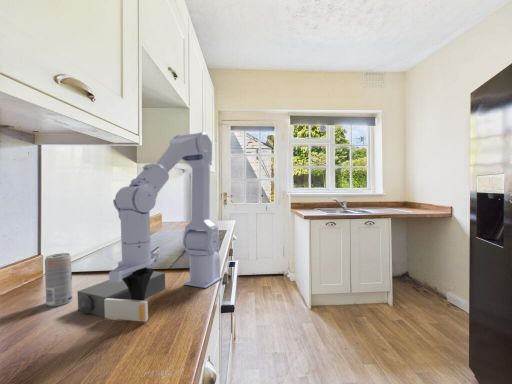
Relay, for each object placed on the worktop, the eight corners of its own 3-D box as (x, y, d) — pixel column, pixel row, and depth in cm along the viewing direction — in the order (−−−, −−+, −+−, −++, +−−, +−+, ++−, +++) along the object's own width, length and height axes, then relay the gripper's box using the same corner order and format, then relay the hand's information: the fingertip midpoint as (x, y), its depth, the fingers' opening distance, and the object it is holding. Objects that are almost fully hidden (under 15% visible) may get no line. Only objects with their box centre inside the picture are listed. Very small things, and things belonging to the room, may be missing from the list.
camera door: (148, 319, 56) (147, 300, 56) (144, 322, 55) (143, 303, 55) (107, 316, 58) (107, 298, 58) (102, 319, 57) (102, 300, 57)
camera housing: (139, 284, 79) (139, 269, 79) (165, 288, 75) (165, 273, 75) (73, 311, 62) (73, 292, 62) (103, 319, 58) (102, 299, 58)
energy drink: (68, 296, 71) (67, 252, 71) (75, 301, 68) (73, 254, 67) (43, 303, 67) (42, 256, 67) (49, 309, 64) (47, 259, 63)
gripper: (139, 235, 65) (141, 290, 65) (94, 249, 51) (96, 319, 51) (166, 235, 64) (167, 291, 64) (127, 249, 49) (129, 321, 50)
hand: (138, 303), depth 57 cm, fingers closed, pressing on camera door
